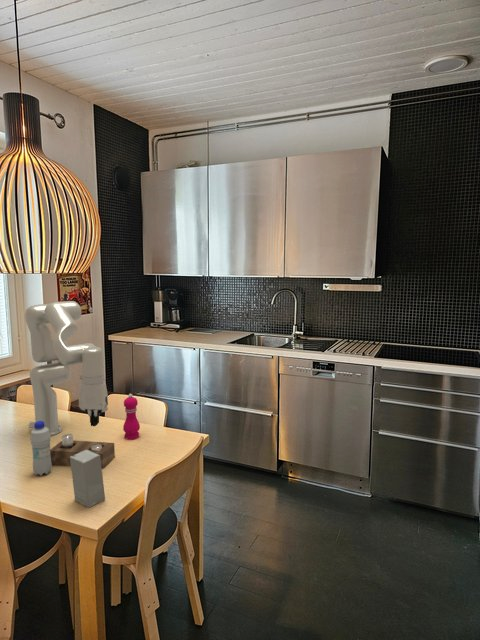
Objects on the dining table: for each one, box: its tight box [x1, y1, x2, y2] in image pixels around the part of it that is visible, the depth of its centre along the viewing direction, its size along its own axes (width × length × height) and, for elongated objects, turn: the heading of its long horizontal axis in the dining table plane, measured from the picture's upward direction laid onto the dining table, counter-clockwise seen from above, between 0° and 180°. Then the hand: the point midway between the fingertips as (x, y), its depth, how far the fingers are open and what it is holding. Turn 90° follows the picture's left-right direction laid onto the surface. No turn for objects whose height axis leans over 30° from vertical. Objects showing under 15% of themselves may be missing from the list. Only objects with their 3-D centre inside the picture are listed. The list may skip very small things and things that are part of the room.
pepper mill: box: [122, 393, 141, 441], centre depth 187 cm, size 7×7×20 cm
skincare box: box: [70, 450, 106, 508], centre depth 137 cm, size 8×7×16 cm
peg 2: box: [91, 444, 102, 451], centre depth 164 cm, size 4×4×6 cm
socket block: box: [50, 439, 116, 470], centre depth 165 cm, size 22×10×6 cm, turn 82°
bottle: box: [30, 421, 53, 477], centre depth 155 cm, size 7×7×20 cm
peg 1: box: [61, 433, 74, 449], centre depth 165 cm, size 4×4×6 cm
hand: (94, 424), depth 163 cm, fingers closed
